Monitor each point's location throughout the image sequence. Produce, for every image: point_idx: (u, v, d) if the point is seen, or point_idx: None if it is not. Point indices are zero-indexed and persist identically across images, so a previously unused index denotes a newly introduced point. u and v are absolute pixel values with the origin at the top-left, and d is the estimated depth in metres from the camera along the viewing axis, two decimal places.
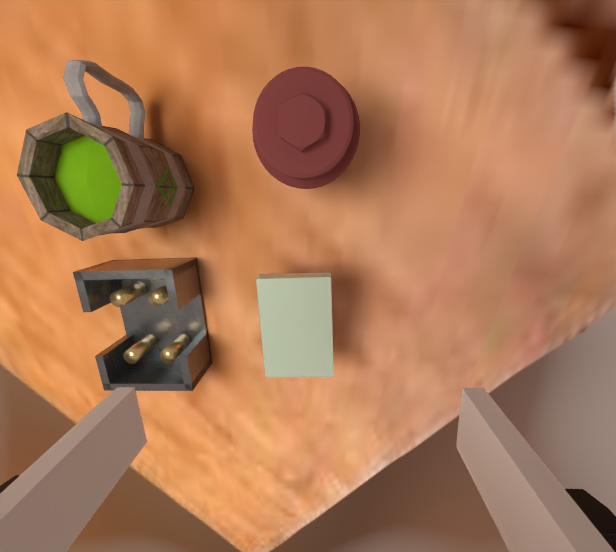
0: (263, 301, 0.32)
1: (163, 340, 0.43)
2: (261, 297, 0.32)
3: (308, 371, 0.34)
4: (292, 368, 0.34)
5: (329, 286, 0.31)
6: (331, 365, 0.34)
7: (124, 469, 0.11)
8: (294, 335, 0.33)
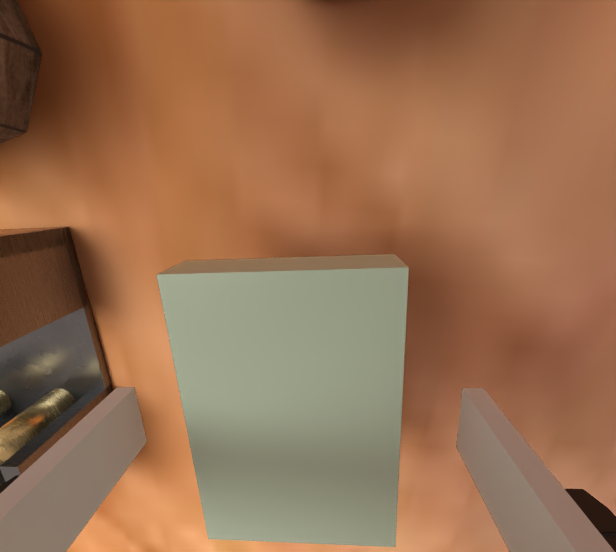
0: (187, 343, 0.10)
1: (22, 399, 0.21)
2: (179, 333, 0.10)
3: (325, 531, 0.12)
4: (281, 522, 0.12)
5: (401, 299, 0.09)
6: (391, 520, 0.12)
7: (124, 468, 0.11)
8: (284, 442, 0.11)
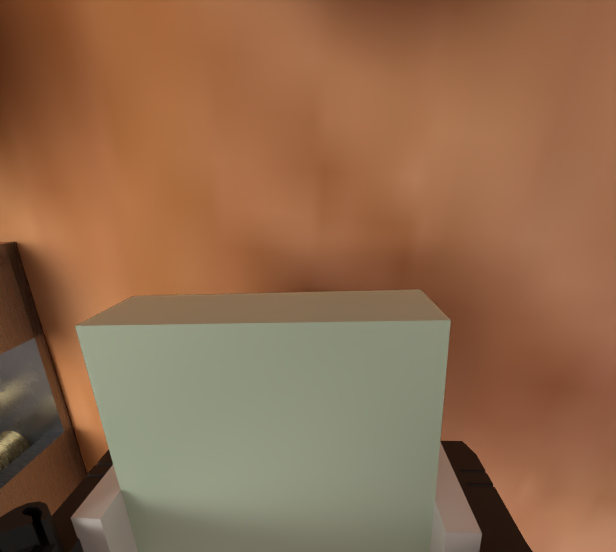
0: (126, 421, 0.07)
1: None
2: (113, 406, 0.07)
3: None
4: None
5: (437, 366, 0.06)
6: None
7: None
8: (266, 551, 0.08)
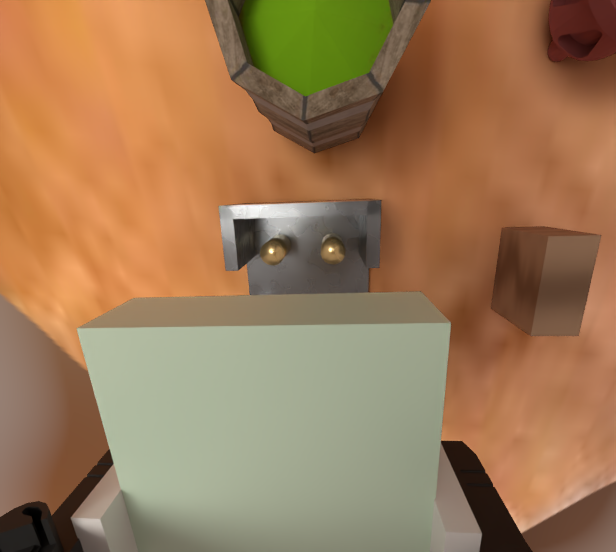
0: (127, 423, 0.07)
1: None
2: (114, 408, 0.07)
3: None
4: None
5: (437, 368, 0.06)
6: None
7: None
8: None
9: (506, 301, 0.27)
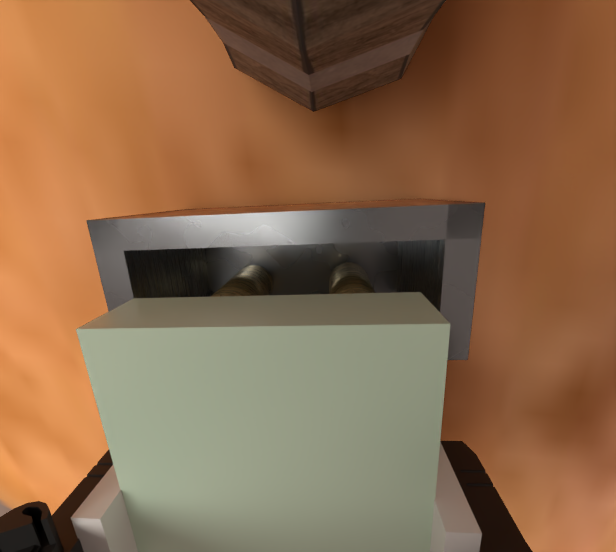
0: (126, 424, 0.07)
1: None
2: (114, 409, 0.07)
3: None
4: None
5: (437, 369, 0.06)
6: None
7: None
8: None
9: None
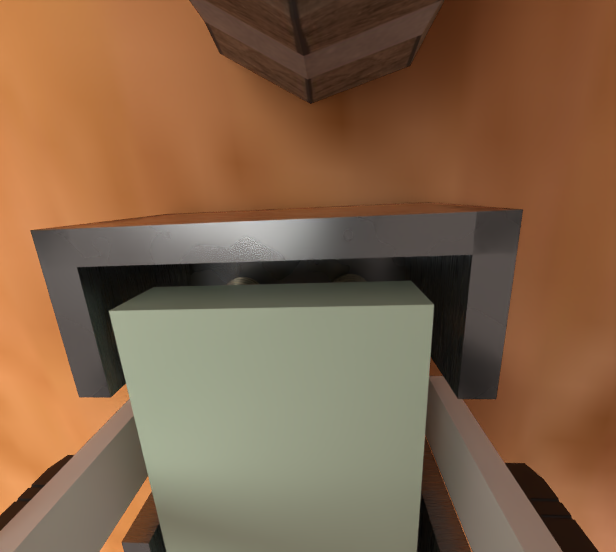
0: (151, 396, 0.08)
1: None
2: (140, 382, 0.08)
3: None
4: None
5: (423, 345, 0.07)
6: None
7: None
8: (274, 514, 0.09)
9: None
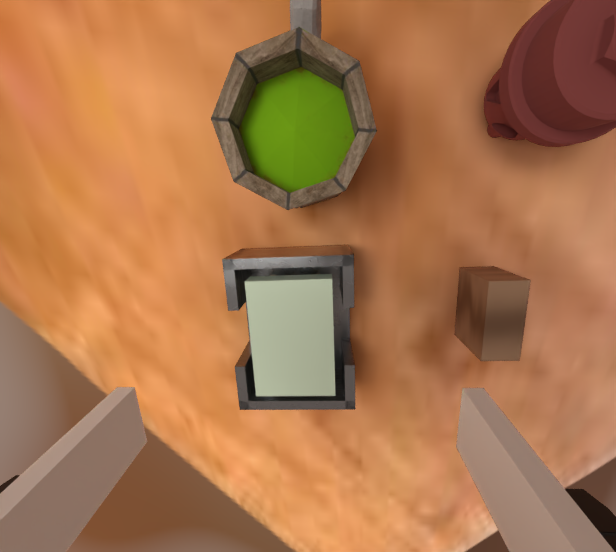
0: (253, 307, 0.28)
1: None
2: (251, 303, 0.27)
3: (306, 389, 0.29)
4: (288, 385, 0.29)
5: (330, 290, 0.27)
6: (332, 382, 0.29)
7: (124, 468, 0.11)
8: (289, 347, 0.28)
9: (464, 330, 0.32)
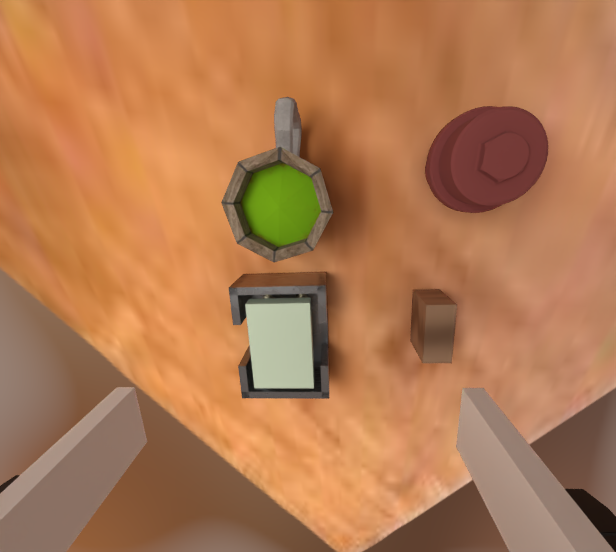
0: (252, 322, 0.37)
1: None
2: (250, 320, 0.37)
3: (291, 383, 0.39)
4: (278, 380, 0.39)
5: (308, 311, 0.36)
6: (311, 378, 0.39)
7: (124, 468, 0.11)
8: (278, 352, 0.38)
9: (415, 338, 0.41)
